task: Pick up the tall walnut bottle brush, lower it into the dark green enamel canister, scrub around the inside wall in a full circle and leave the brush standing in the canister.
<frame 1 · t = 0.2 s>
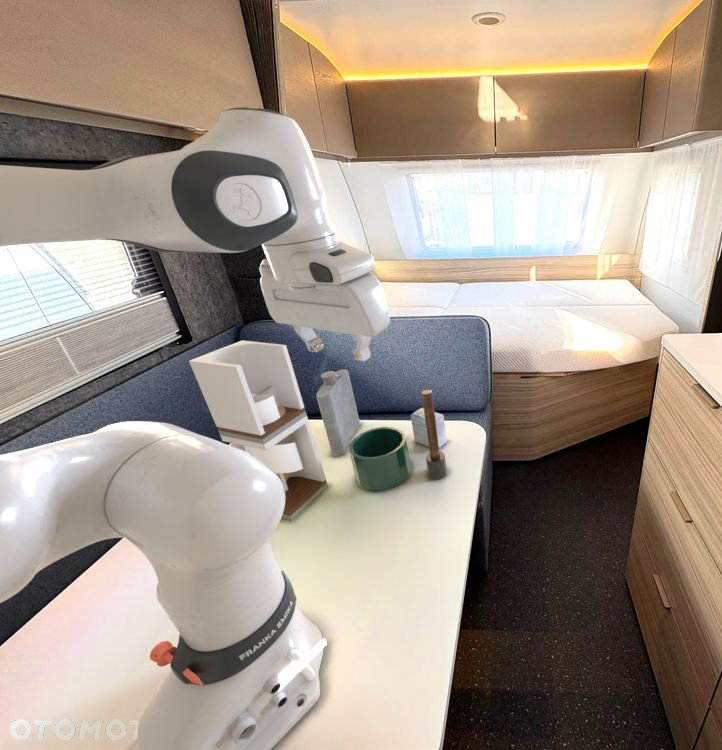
hand: (339, 354, 57), 39 cm above the table, tool pointing down, fingers open, 8 cm apart
medicine box: (430, 442, 103), on the table
hip flask: (345, 439, 106), on the table
display case: (290, 497, 86), on the table
bottle brush: (437, 473, 92), on the table
canister: (384, 472, 93), on the table
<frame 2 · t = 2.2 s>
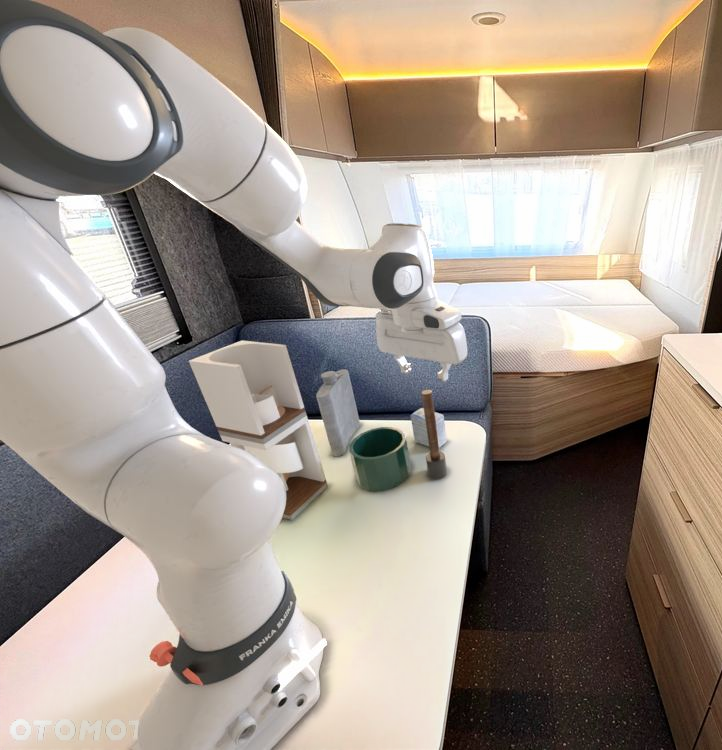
hand: (424, 376, 81), 26 cm above the table, tool pointing down, fingers open, 8 cm apart
nothing on the table moved.
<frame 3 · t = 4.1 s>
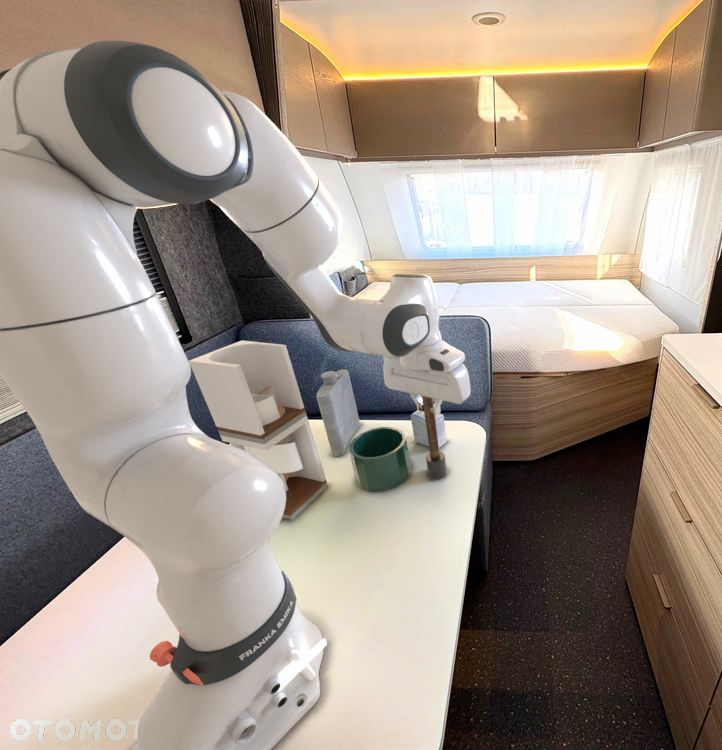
hand: (429, 411, 84), 17 cm above the table, tool pointing down, fingers closed on bottle brush, 2 cm apart
bottle brush: (437, 473, 92), on the table, touching gripper
everything else where it was.
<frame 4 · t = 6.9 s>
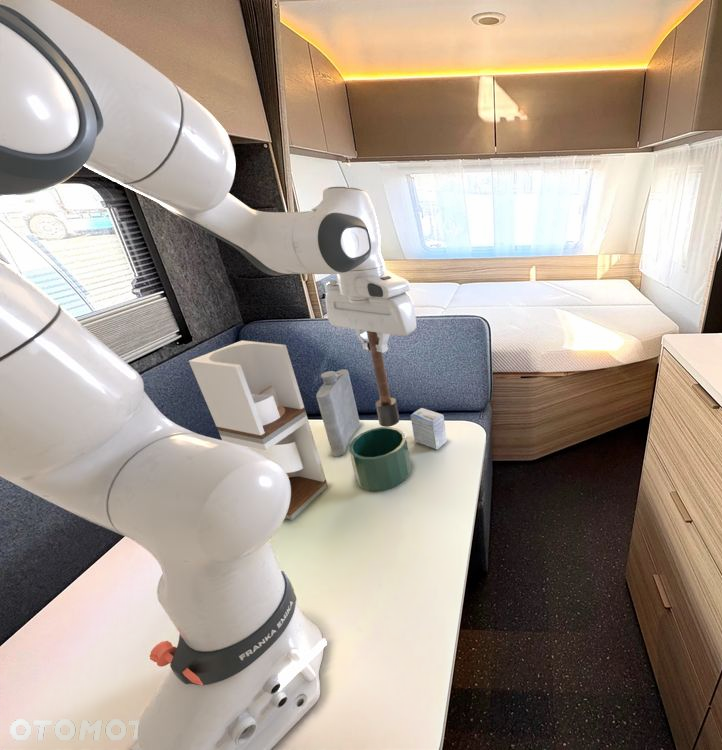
hand: (375, 350, 79), 32 cm above the table, tool pointing down, fingers closed on bottle brush, 2 cm apart
bottle brush: (389, 421, 86), point 15 cm above the table, touching gripper
everything else where it was.
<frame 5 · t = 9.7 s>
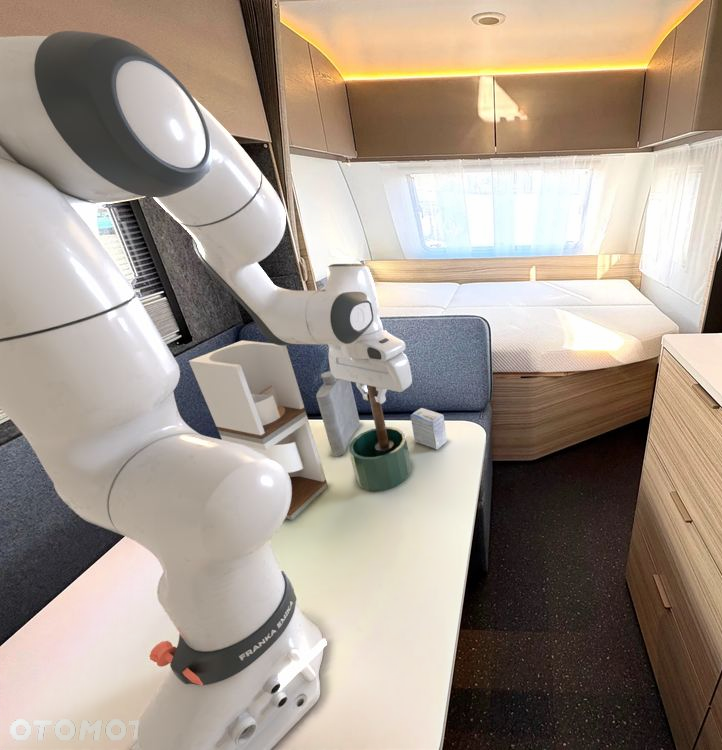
hand: (375, 400, 86), 19 cm above the table, tool pointing down, fingers closed on bottle brush, 2 cm apart
bottle brush: (387, 461, 93), point 2 cm above the table, touching gripper
everything else where it was.
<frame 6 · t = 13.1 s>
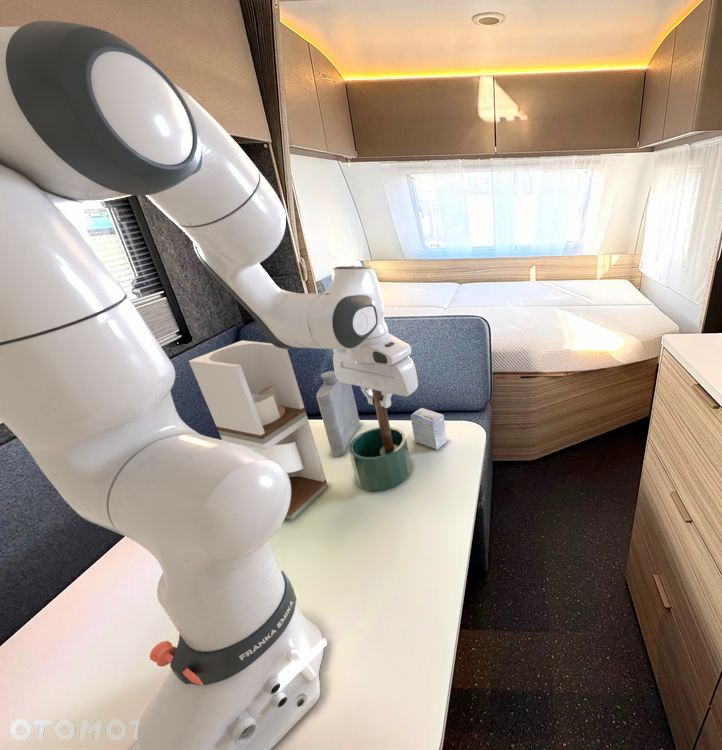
hand: (380, 404, 84), 19 cm above the table, tool pointing down, fingers closed on bottle brush, 2 cm apart
bottle brush: (392, 466, 92), point 2 cm above the table, touching gripper
everything else where it was.
when the fingers open (17 cm above the table, at t = 15.4 s): bottle brush stays where it is, resting on canister.
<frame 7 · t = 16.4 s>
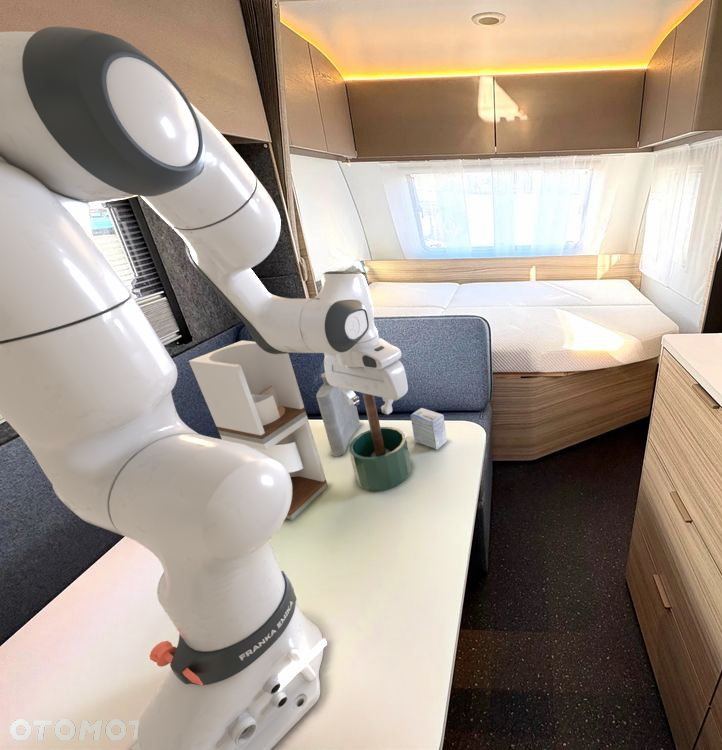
hand: (370, 408, 85), 18 cm above the table, tool pointing down, fingers open, 8 cm apart
bottle brush: (384, 470, 92), resting on canister
everything else where it was.
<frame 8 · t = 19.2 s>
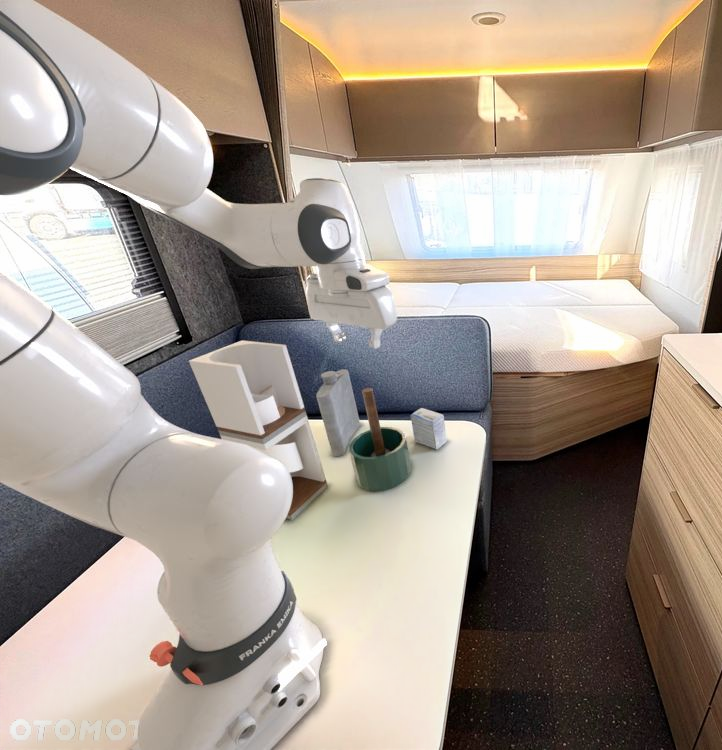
hand: (357, 344, 78), 33 cm above the table, tool pointing down, fingers open, 8 cm apart
nothing on the table moved.
at the end: bottle brush inside the target area in the canister (0.1 cm from its centre), point 0.5 cm above the canister's base; bottle brush moved 13.0 cm from its start; bottle brush tilted 0° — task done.
